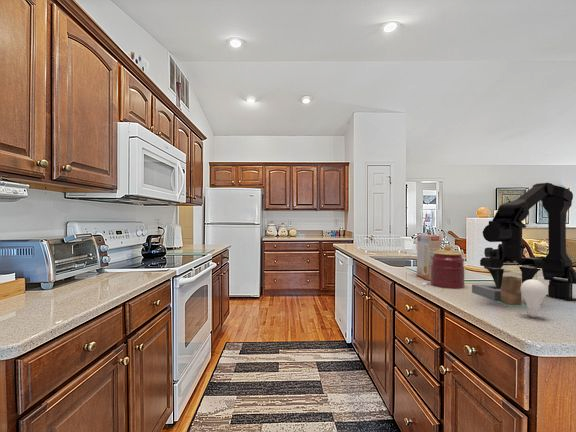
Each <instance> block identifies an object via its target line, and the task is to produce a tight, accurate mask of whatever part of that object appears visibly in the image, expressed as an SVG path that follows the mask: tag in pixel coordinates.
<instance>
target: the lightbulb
mask: <svg viewBox="0 0 576 432" xmlns="http://www.w3.org/2000/svg"><path fill="white" fill-rule="evenodd" d="M520 290H521V296H523V298H524V300H525V305H526V306H527V307H526V308H527V315H528V316H530V317H531V318H536V317H539V313H540V312H539V311H540V309H541V303H542V301H543V300H544V298H546V297H547V296H546V295H547V293H548V291H547V290H548V289H547V287H546V285H545V284H544V283H543V282H541V281H540V280H537V279H534V278H532V279H530V280H526V281H524V282H523V283H522V282H521V288H520Z"/></svg>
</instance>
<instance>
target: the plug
mask: <svg viewBox="0 0 576 432" xmlns="http://www.w3.org/2000/svg"><path fill="white" fill-rule="evenodd" d="M521 285H522V277H518V276H513V275H511V276H509V275H503V278H502V284H501V300H500V301H501V302H502V303H505V304H508V305H521V304H522V293H521V290H520V288H521Z"/></svg>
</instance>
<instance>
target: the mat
mask: <svg viewBox="0 0 576 432" xmlns="http://www.w3.org/2000/svg"><path fill="white" fill-rule="evenodd" d="M493 303H498V304H500V305H503V306H506V307H510V308H523V307H524V308H525V307H526V308H527V306H526V303H525V304H524V303H521V305H508V304H505V303H502V302H501V300H493Z"/></svg>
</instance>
